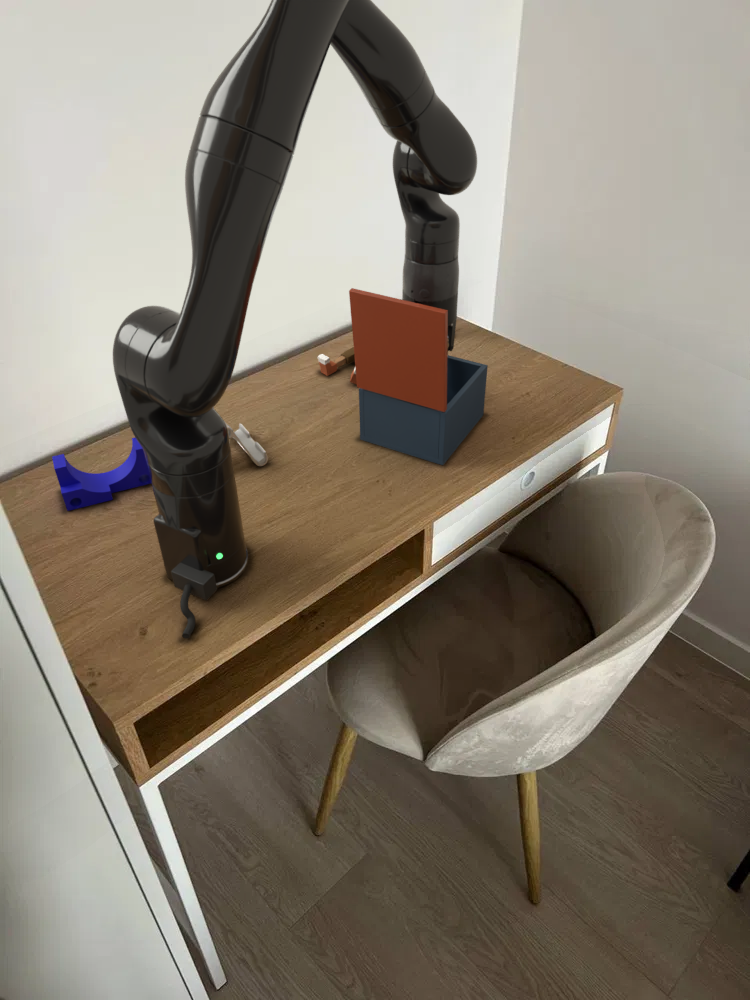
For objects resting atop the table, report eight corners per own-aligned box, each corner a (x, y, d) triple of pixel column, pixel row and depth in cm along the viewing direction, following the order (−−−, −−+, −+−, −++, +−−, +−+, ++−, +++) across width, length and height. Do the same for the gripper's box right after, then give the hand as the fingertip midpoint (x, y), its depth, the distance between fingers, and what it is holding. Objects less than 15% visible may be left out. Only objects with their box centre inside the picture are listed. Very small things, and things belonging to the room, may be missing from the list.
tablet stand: (268, 464, 116) (262, 415, 111) (217, 482, 113) (208, 432, 108) (243, 434, 122) (236, 386, 117) (194, 451, 119) (185, 403, 113)
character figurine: (305, 348, 135) (383, 303, 143) (309, 372, 139) (385, 327, 147) (352, 375, 129) (432, 326, 137) (356, 400, 132) (433, 351, 140)
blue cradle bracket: (67, 511, 109) (55, 475, 105) (63, 491, 112) (52, 456, 108) (157, 488, 112) (148, 453, 108) (150, 470, 115) (142, 435, 112)
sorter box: (405, 393, 130) (405, 344, 125) (483, 415, 125) (487, 365, 120) (359, 439, 121) (358, 388, 115) (443, 465, 115) (445, 413, 110)
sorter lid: (351, 287, 104) (348, 290, 104) (448, 310, 99) (445, 313, 99) (359, 384, 115) (356, 387, 114) (447, 409, 110) (444, 412, 109)
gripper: (428, 261, 116) (425, 364, 126) (380, 301, 106) (381, 409, 117) (477, 271, 113) (469, 376, 123) (432, 314, 103) (428, 423, 114)
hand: (426, 392), depth 120 cm, fingers open, 6 cm apart
